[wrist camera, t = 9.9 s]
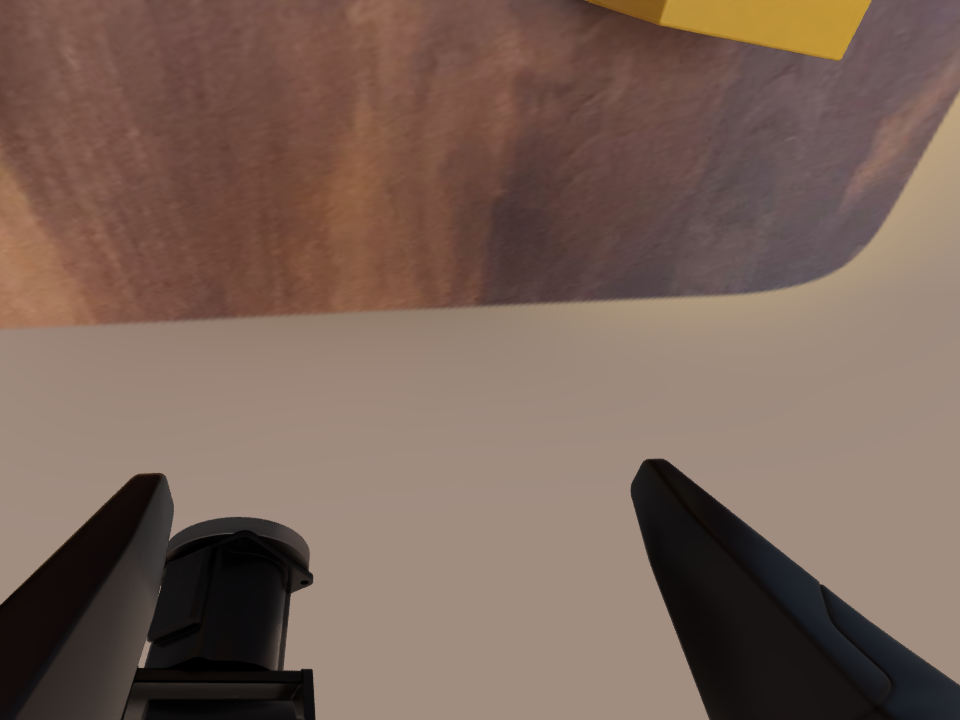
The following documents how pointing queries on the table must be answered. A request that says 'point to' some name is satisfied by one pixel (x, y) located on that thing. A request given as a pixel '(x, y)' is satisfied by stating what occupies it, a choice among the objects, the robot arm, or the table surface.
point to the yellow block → (758, 21)
